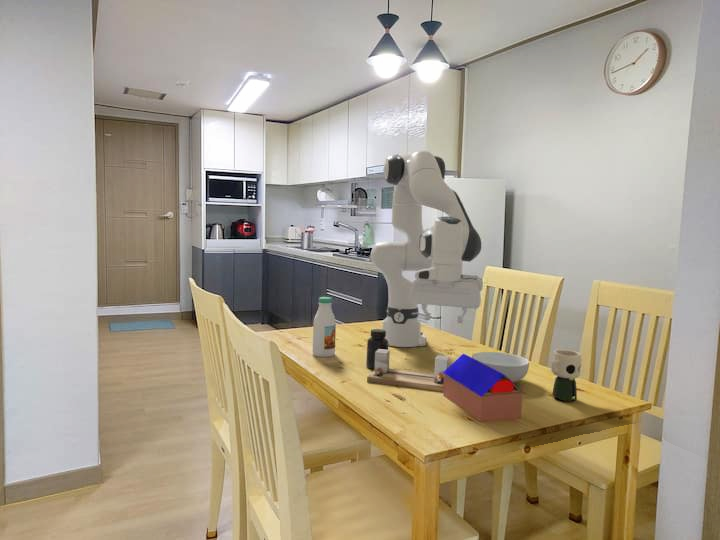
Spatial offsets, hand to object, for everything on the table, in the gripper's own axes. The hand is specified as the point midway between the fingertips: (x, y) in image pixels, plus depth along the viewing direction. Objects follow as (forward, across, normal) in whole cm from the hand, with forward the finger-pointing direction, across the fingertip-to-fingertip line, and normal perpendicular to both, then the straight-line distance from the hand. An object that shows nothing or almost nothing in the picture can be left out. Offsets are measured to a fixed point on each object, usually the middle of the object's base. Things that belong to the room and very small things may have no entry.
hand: (443, 321), depth 155 cm
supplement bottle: (+19, +22, -9) cm, 30 cm away
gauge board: (+19, +7, +2) cm, 20 cm away
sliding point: (+17, 0, +2) cm, 17 cm away
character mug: (+19, -34, 0) cm, 39 cm away
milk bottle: (+19, +43, -16) cm, 50 cm away
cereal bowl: (+19, -16, -10) cm, 27 cm away
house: (+19, -13, +15) cm, 27 cm away
